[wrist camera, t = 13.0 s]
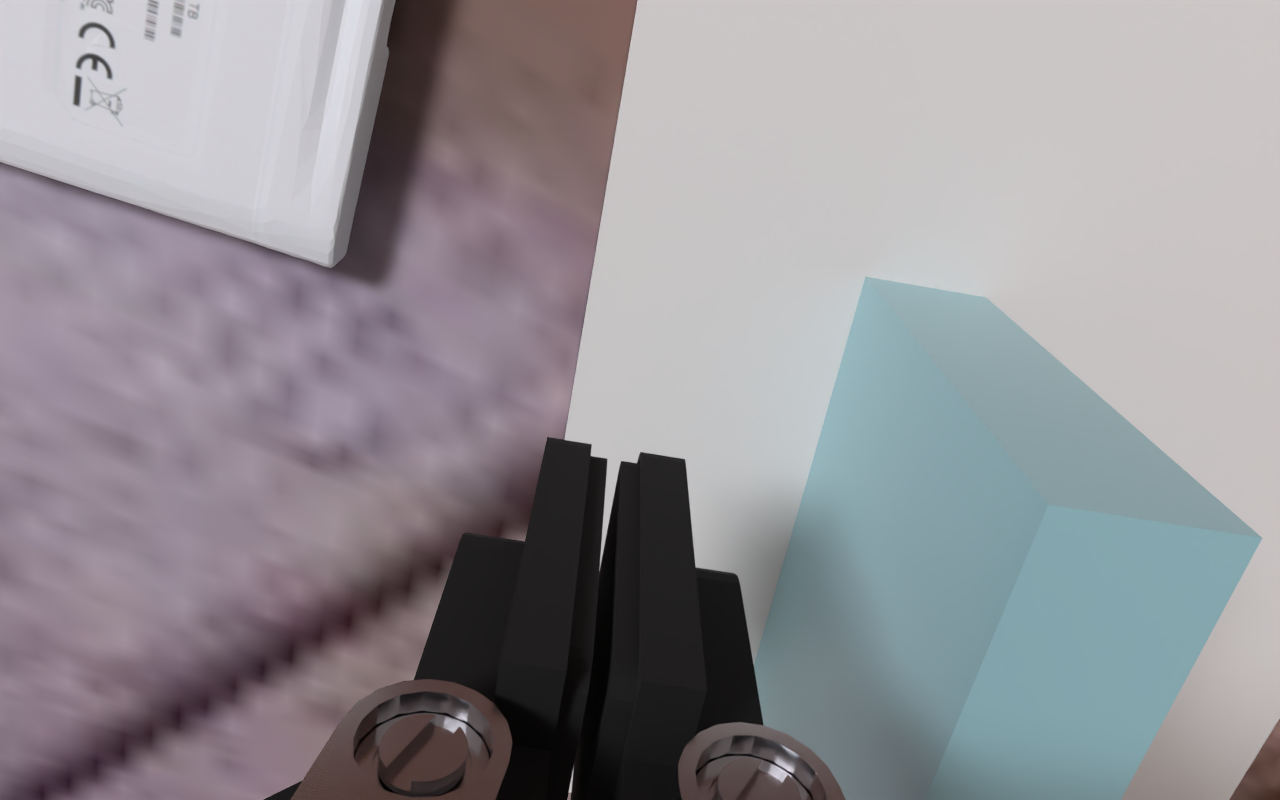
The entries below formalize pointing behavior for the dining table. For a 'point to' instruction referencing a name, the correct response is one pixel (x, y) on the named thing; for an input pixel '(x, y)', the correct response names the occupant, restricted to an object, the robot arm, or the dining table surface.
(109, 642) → the dining table surface
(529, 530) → the robot arm
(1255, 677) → the mat
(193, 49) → the external hard drive
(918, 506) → the tile
